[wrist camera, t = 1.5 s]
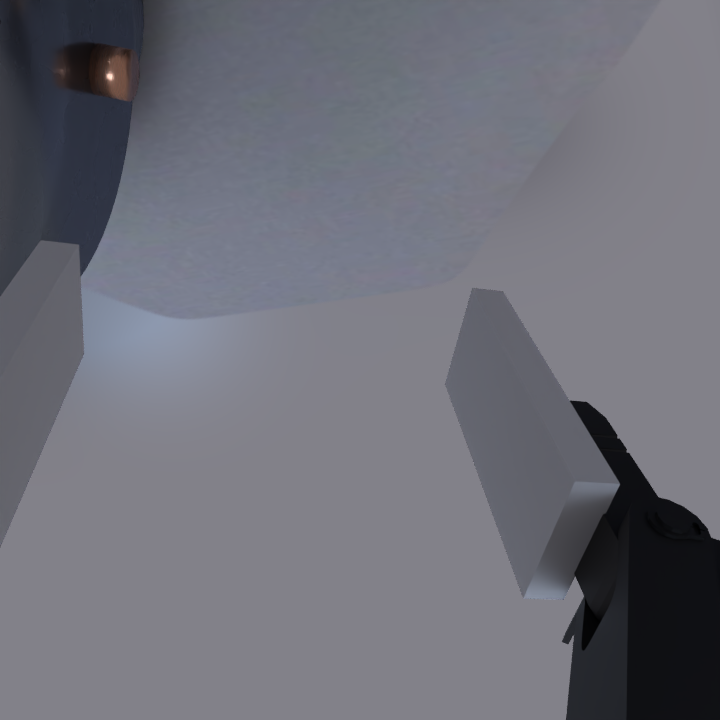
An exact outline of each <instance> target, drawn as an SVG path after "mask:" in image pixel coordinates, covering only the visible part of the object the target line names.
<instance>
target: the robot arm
mask: <svg viewBox="0 0 720 720" xmlns="http://www.w3.org/2000/svg"><path fill="white" fill-rule="evenodd" d="M83 355H84V343H83V321H82V300H81V278H80V257H79V244H70V243H61V242H52V241H43V240H40V242H39V243H38V245H37V246H36V247H35V249H34V250H33V252H32V253H31V254H30V256H29V257H28V259H27V260H26V261H25V263H24V264H23V266H22V267H21V268H20V270H19V271H18V273H17V274H16V275H15V277H14V278H13V280H12V281H11V282H10V284H9V285H8V287H7V288H6V289H5V291H4V292H3V294H2V295H1V296H0V547H1V544H2V542H3V539H4V537H5V535H6V533H7V530H8V528H9V526H10V523H11V521H12V519H13V517H14V514H15V512H16V510H17V507H18V505H19V503H20V500H21V498H22V496H23V493H24V491H25V489H26V487H27V484H28V482H29V479H30V477H31V475H32V473H33V470H34V468H35V466H36V463H37V461H38V459H39V457H40V454H41V452H42V450H43V447H44V445H45V443H46V440H47V438H48V436H49V433H50V431H51V429H52V426H53V424H54V422H55V420H56V417H57V415H58V412H59V410H60V408H61V406H62V403H63V401H64V399H65V396H66V394H67V392H68V390H69V387H70V385H71V382H72V380H73V378H74V376H75V373H76V371H77V369H78V366H79V364H80V362H81V359H82V357H83ZM445 385H446V388H447V391H448V393H449V395H450V398H451V402H452V404H453V407H454V410H455V413H456V415H457V418H458V421H459V423H460V426H461V429H462V431H463V434H464V437H465V440H466V443H467V445H468V448H469V451H470V454H471V456H472V459H473V462H474V465H475V467H476V470H477V473H478V476H479V478H480V481H481V484H482V487H483V489H484V492H485V495H486V497H487V500H488V503H489V506H490V509H491V511H492V514H493V517H494V519H495V522H496V525H497V527H498V530H499V533H500V536H501V539H502V541H503V544H504V547H505V549H506V552H507V555H508V558H509V561H510V563H511V566H512V569H513V572H514V574H515V577H516V580H517V582H518V585H519V588H520V591H521V594H522V596H523V598H525V599H564V598H565V596H566V594H567V592H568V590H569V588H570V585H571V583H572V581H573V580H574V577H575V576H576V579H577V581H578V583H579V585H580V587H581V590H582V592H583V594H584V598H583V600H582V602H581V604H580V605H579V608H578V609H577V612H576V613H575V615H574V617H573V619H572V621H571V623H570V625H569V627H568V629H567V631H566V633H565V636H564V638H563V640H562V642H564V643H566V644H569V642H570V640H571V638H572V636H573V635H574V642H573V653H572V664H571V674H570V685H569V695H568V706H567V716H566V720H720V541H719V540H716V539H713V538H711V536H710V534H709V531H708V529H707V527H706V526H705V525H704V524H703V523H702V522H701V520H700V519H699V518H698V517H697V516H696V515H694V514H693V513H691V512H690V511H689V510H687V509H686V508H685V507H683V506H681V505H678V504H676V503H674V502H672V501H670V500H667V499H662V498H659V497H658V496H657V495H656V493H655V492H654V490H653V488H652V487H651V485H650V484H649V482H648V481H647V479H646V478H645V476H644V475H643V473H642V472H641V470H640V469H639V468H638V466H637V464H636V463H635V461H634V460H633V458H632V457H631V455H630V454H629V453H627V452H626V450H627V449H626V447H625V446H624V444H623V443H622V442H621V440H620V439H617V434H616V432H615V431H614V430H613V428H612V426H611V425H610V423H609V422H608V421H607V419H606V418H605V417H604V416H603V415H602V414H601V413H599V412H598V411H597V410H596V409H595V408H593V407H592V406H591V405H590V404H589V403H587V402H581V401H569V399H568V397H567V396H566V394H565V393H564V391H563V389H562V388H561V386H560V384H559V383H558V381H557V379H556V378H555V376H554V374H553V373H552V371H551V369H550V368H549V366H548V365H547V363H546V361H545V360H544V358H543V356H542V355H541V353H540V352H539V350H538V348H537V346H536V345H535V343H534V342H533V340H532V338H531V337H530V335H529V333H528V332H527V330H526V328H525V327H524V325H523V323H522V322H521V320H520V319H519V317H518V315H517V314H516V312H515V310H514V309H513V307H512V305H511V304H510V302H509V301H508V299H507V297H506V296H505V294H504V292H503V291H495V290H486V289H477V288H472V291H471V295H470V298H469V301H468V305H467V308H466V312H465V316H464V319H463V323H462V326H461V330H460V333H459V337H458V340H457V344H456V347H455V351H454V354H453V358H452V361H451V365H450V368H449V372H448V376H447V379H446V383H445Z"/></svg>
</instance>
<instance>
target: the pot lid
mask: <svg viewBox="0 0 720 720" xmlns="http://www.w3.org/2000/svg"><path fill="white" fill-rule="evenodd" d="M138 84H139V61H138V56H137V54H136V52H135V51H134V32H133V16H132V2H131V0H0V296H1V295H2V294H3V292H4V291H5V289H6V288H7V287H8V285H9V284H10V282H11V281H12V280H13V278H14V277H15V275H16V274H17V273H18V271H19V270H20V268H21V267H22V266H23V264H24V263H25V261H26V260H27V259H28V257H29V256H30V254H31V253H32V252H33V250H34V249H35V247H36V246H37V245H38V243H39V242H40V240H43V241H52V242H61V243H70V244H79V257H80V277H81V275H82V274H83V272H84V271H85V270H86V268H87V266H88V264H89V262H90V261H91V259H92V257H93V255H94V253H95V251H96V249H97V247H98V245H99V243H100V240H101V238H102V236H103V234H104V231H105V228H106V226H107V223H108V220H109V218H110V215H111V212H112V208H113V205H114V202H115V198H116V195H117V191H118V187H119V183H120V179H121V175H122V170H123V165H124V160H125V155H126V149H127V143H128V136H129V129H130V120H131V110H132V100H133V99H134V97H135V95H136V92H137V89H138Z"/></svg>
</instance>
